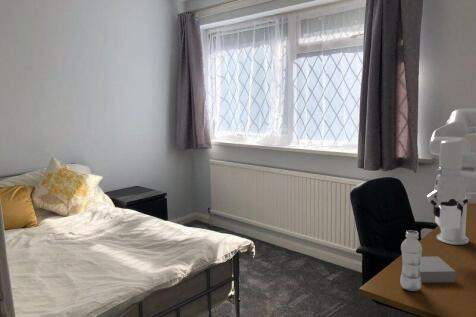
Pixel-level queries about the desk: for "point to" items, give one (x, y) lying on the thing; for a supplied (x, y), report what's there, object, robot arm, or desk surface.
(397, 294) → the desk surface
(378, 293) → the desk surface
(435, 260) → the base block
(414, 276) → the plastic bottle
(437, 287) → the desk surface
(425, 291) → the desk surface
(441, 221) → the medicine bottle
